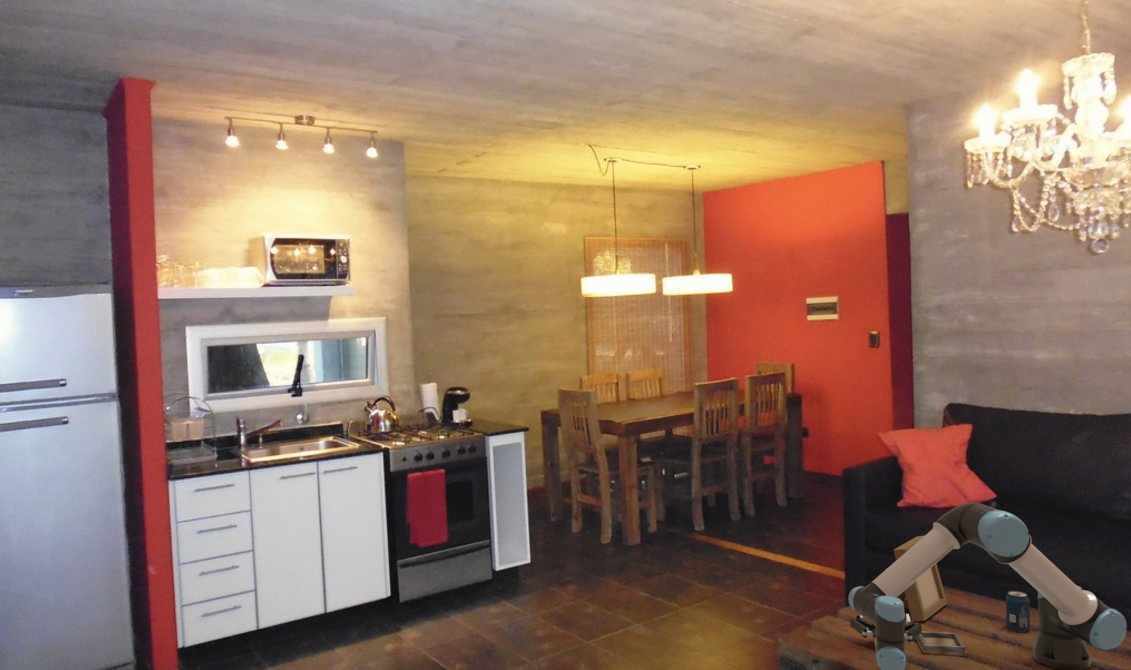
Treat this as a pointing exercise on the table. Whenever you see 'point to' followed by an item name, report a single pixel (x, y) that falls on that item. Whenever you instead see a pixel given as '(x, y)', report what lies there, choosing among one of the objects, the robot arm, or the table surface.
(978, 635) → the table surface
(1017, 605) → the soda can
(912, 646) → the table surface
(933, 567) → the photo frame
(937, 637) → the tray
